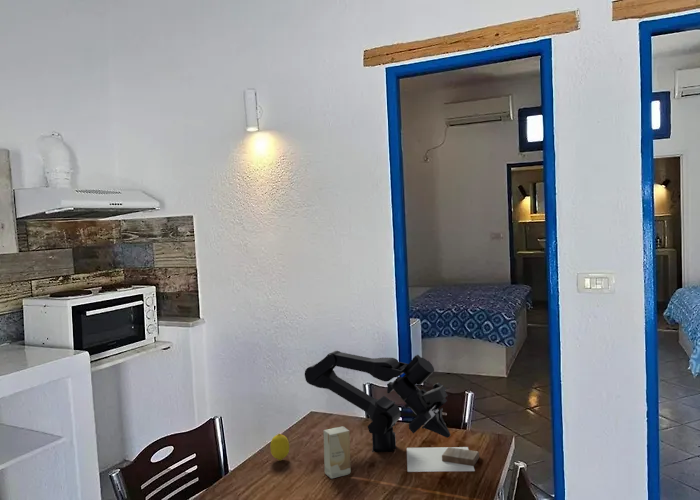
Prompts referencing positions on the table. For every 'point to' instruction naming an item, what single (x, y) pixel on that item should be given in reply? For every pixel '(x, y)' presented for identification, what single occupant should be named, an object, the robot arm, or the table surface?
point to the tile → (460, 456)
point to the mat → (432, 460)
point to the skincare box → (337, 452)
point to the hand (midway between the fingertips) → (449, 436)
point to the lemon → (279, 447)
